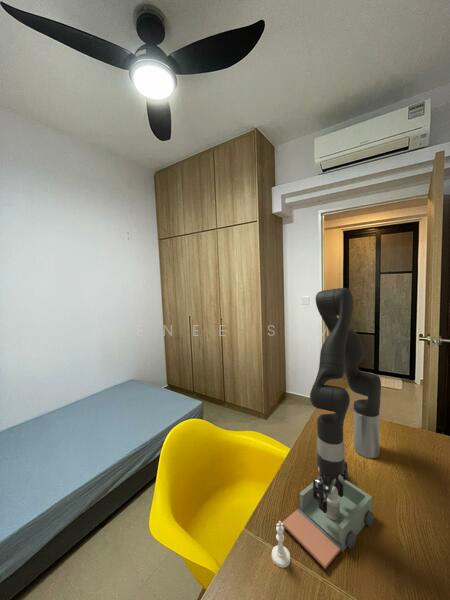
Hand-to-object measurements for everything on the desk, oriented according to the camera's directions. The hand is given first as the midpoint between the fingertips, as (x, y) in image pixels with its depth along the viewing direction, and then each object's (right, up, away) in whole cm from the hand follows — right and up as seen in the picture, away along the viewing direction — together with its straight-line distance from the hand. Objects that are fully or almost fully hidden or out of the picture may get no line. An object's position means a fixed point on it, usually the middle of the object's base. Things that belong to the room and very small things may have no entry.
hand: (331, 502), depth 74 cm
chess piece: (-17, -7, -9) cm, 21 cm away
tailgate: (-6, -4, -4) cm, 8 cm away
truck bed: (+2, -5, +1) cm, 5 cm away
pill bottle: (0, -4, 0) cm, 4 cm away
